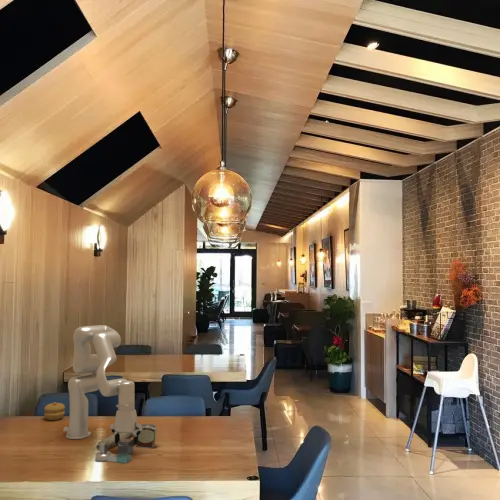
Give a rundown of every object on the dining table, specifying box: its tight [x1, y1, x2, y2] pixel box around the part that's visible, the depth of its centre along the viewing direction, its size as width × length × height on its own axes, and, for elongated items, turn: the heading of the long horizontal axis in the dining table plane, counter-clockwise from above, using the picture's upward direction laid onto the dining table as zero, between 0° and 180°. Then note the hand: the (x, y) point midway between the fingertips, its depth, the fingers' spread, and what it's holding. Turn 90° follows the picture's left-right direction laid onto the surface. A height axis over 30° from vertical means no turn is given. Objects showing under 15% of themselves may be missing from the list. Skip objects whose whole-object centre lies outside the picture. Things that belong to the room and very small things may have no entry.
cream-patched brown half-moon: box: [135, 423, 158, 450], centre depth 254 cm, size 12×6×10 cm, turn 71°
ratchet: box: [94, 443, 132, 464], centre depth 233 cm, size 16×7×7 cm, turn 75°
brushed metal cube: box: [117, 438, 134, 455], centre depth 242 cm, size 5×5×6 cm
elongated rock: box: [96, 432, 134, 451], centre depth 263 cm, size 35×5×10 cm
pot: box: [43, 401, 66, 421], centre depth 303 cm, size 12×12×10 cm
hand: (126, 443), depth 242 cm, fingers open, 9 cm apart
